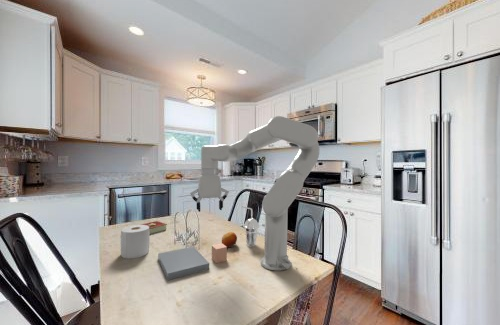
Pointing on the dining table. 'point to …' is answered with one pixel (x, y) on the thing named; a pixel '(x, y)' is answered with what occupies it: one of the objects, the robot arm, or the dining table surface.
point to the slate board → (182, 262)
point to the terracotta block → (219, 253)
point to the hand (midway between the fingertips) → (209, 210)
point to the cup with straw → (251, 230)
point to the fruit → (229, 239)
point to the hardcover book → (155, 226)
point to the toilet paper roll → (134, 241)
